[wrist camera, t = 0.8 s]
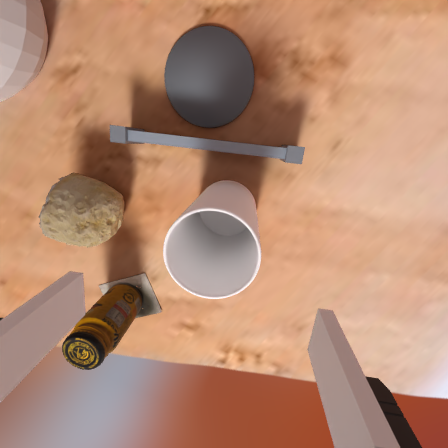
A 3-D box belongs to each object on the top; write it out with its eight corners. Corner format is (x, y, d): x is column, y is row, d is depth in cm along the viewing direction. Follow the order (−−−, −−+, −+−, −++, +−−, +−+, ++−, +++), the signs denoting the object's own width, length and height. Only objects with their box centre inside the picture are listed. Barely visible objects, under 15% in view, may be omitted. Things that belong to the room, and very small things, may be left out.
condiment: (99, 284, 42) (44, 336, 31) (145, 272, 41) (105, 322, 30) (117, 321, 44) (72, 383, 33) (162, 310, 43) (131, 371, 31)
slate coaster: (163, 122, 34) (163, 122, 34) (167, 23, 31) (166, 21, 30) (247, 132, 33) (247, 131, 33) (260, 31, 30) (260, 30, 30)
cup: (248, 173, 35) (248, 196, 20) (262, 229, 37) (271, 289, 22) (190, 188, 36) (149, 220, 21) (207, 241, 38) (180, 306, 23)
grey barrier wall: (131, 142, 35) (110, 141, 30) (131, 127, 34) (109, 125, 29) (293, 161, 34) (301, 164, 29) (295, 146, 33) (304, 147, 28)
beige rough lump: (29, 153, 30) (81, 195, 26) (103, 169, 39) (149, 201, 36) (6, 224, 32) (52, 271, 28) (81, 223, 41) (123, 258, 38)
